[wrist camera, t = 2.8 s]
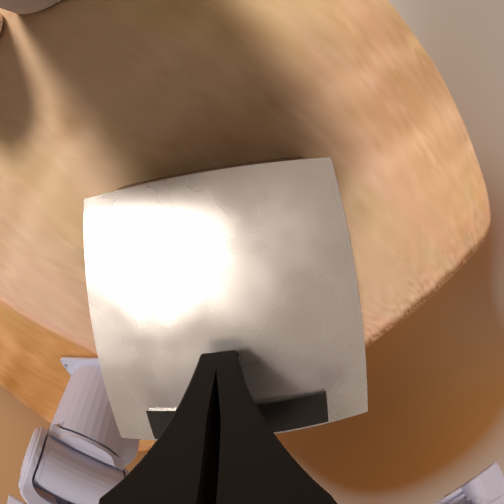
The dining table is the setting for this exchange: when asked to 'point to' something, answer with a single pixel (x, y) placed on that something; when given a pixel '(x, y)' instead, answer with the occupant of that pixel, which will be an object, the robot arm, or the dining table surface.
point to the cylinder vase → (26, 5)
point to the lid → (227, 293)
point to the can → (1, 23)
